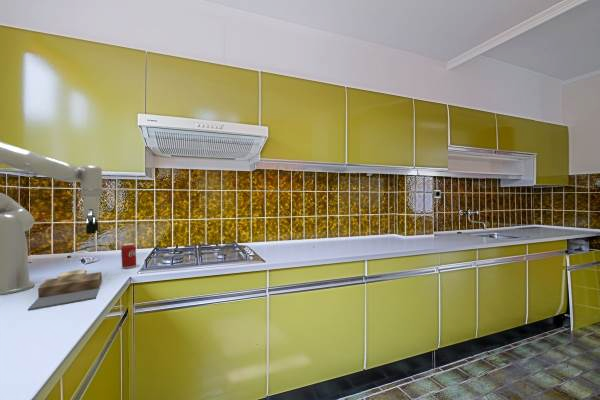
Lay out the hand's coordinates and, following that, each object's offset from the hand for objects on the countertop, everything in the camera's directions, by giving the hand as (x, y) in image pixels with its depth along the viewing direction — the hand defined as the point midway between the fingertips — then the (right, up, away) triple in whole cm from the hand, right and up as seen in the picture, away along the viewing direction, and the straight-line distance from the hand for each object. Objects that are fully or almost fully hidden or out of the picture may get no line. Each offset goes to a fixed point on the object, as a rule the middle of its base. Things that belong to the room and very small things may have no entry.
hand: (92, 232), depth 125 cm
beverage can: (+4, -21, +20) cm, 29 cm away
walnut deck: (+1, -21, -12) cm, 25 cm away
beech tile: (+1, -17, -12) cm, 21 cm away
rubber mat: (+8, -22, -23) cm, 33 cm away
